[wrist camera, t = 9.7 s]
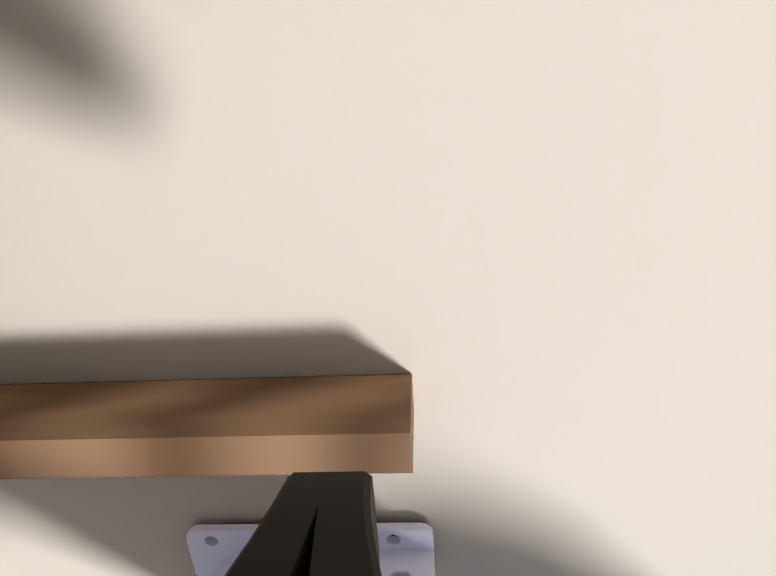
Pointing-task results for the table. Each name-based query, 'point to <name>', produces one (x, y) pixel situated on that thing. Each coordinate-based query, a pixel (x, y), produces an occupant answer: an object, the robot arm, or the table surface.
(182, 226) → the table surface
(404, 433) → the bay
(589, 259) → the table surface
